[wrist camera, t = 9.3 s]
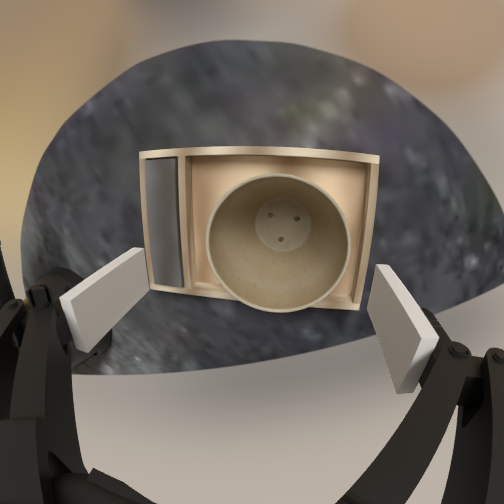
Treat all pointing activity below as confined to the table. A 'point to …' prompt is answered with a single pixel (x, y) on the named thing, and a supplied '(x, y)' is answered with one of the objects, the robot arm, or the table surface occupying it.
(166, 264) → the wooden tray
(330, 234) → the flower pot
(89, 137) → the table surface
